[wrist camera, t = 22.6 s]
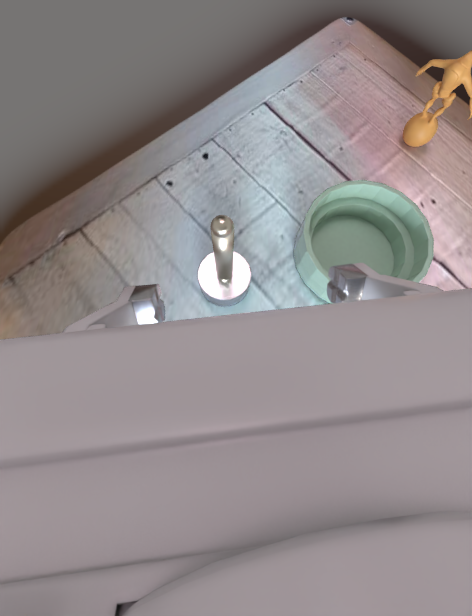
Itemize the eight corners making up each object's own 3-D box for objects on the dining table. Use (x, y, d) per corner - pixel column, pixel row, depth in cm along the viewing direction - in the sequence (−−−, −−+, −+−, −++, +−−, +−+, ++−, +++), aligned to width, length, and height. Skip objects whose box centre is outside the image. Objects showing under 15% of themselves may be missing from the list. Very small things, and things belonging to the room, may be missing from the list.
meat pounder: (246, 258, 34) (257, 182, 20) (252, 303, 32) (268, 254, 19) (198, 262, 33) (178, 188, 20) (202, 309, 32) (183, 262, 19)
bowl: (388, 202, 36) (413, 175, 31) (417, 303, 33) (450, 290, 28) (285, 211, 35) (294, 185, 30) (304, 315, 32) (317, 305, 27)
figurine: (440, 154, 38) (533, 57, 27) (412, 175, 37) (495, 85, 26) (398, 117, 40) (469, 10, 28) (370, 136, 39) (431, 34, 27)
